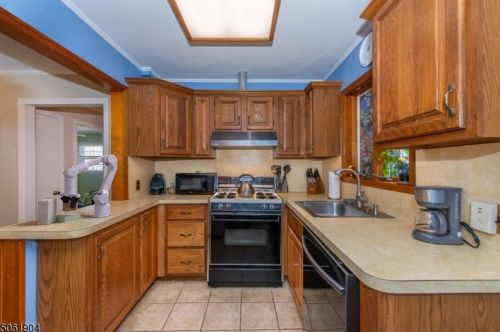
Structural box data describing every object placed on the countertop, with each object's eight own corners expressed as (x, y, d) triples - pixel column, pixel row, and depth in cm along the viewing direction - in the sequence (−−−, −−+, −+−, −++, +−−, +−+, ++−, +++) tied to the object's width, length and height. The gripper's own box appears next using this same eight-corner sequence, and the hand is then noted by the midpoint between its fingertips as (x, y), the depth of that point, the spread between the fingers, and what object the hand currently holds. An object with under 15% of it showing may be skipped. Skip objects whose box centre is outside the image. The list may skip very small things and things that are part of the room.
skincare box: (46, 221, 152) (46, 198, 152) (56, 221, 153) (57, 198, 153) (36, 225, 144) (37, 200, 144) (48, 224, 145) (48, 200, 145)
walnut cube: (70, 209, 158) (70, 202, 158) (76, 210, 157) (76, 202, 157) (62, 211, 153) (62, 203, 153) (68, 211, 152) (68, 203, 152)
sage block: (69, 218, 164) (69, 212, 164) (80, 219, 161) (80, 213, 161) (53, 221, 154) (53, 215, 154) (64, 223, 151) (64, 216, 151)
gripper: (55, 186, 153) (54, 208, 153) (72, 187, 149) (72, 209, 150) (66, 186, 160) (65, 206, 160) (83, 186, 156) (83, 207, 156)
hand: (69, 208), depth 155 cm, fingers closed on walnut cube, 5 cm apart
